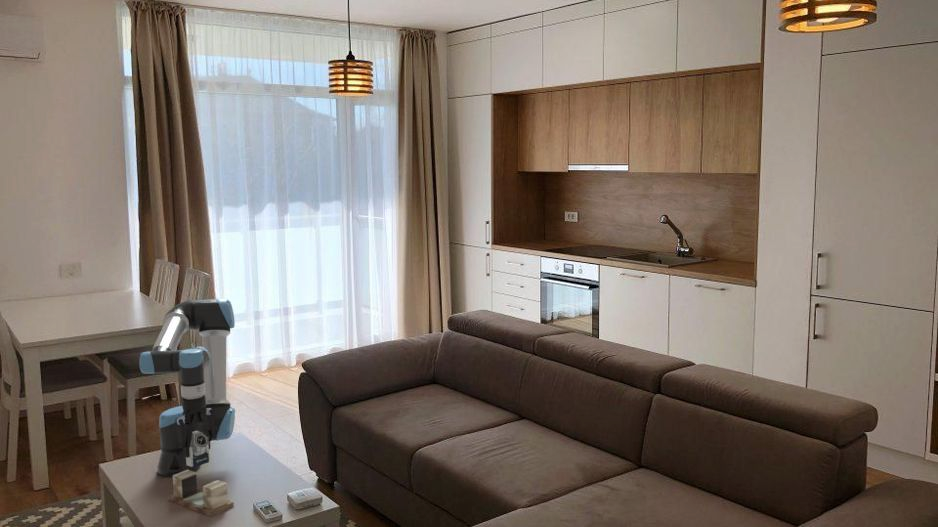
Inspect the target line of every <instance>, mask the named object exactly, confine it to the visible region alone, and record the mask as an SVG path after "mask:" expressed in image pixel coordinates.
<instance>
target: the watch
mask: <svg viewBox="0 0 938 527" xmlns="http://www.w3.org/2000/svg"><path fill="white" fill-rule="evenodd" d="M207 444H208V437H207V436H206V435H205V434H203V433H202V432H200V431H194V432H192V438H191V443H190V447H192V452H193V466H192V467H197V466H200V467H201V466H202V465H205V464H208V463H210V460H209V459H210V454H209V455H208V453H206V452H205V451H206V448H207Z"/></svg>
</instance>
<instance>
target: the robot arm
mask: <svg viewBox="0 0 938 527" xmlns="http://www.w3.org/2000/svg"><path fill="white" fill-rule="evenodd" d="M233 328H235V314H234V309H233V305H232V302H231V301H230V300H229V299H227V298H204V299H188V300H185V301H182V302H180V303H178V304H176V305H175V306H173V307H172V308H171V309H169V310H168V311H167V312H166V314H165V315H164V317H163V319H162V328H161V330H160V332H159V334H158V337H157V339H156V341H155V342H154V344H153V347H152V349H151V351H150V350H148V351H144V352H141V353H140V355H139V362H138V363H139V369H140V370H139V371H140V372H141V373H142V374H145V375H146V374H152V375H154V374H167V373H168V374H169V373H179V377H180V394H181V397H182V398H181V405H178V406H175V407H171V408H168V409H167V410H165V411H163V412H162V413H161V414H160V415H159V420H158V427H159V437H160V438H159V439H160V448H161V449H160V456H159V459H158V464H157V468H156V469H157V474H158V475H160V476H162V477H170V478H173V475H175V474H178V473H180V472H183V471H185V470H190V471H193V472H197V471H198V470H199V469H201V465H200V466H197V467H192V466H193V452H192V447H190V443H191V438H192V432H194V431H200V432H202V433H203V434H205V435H206V436H207V437H208V444H207V448H206V451H205V452H206V453H208V455H209V456H210V450H211V441H217V442H218V441H223V440H228V439H230V438H231V436H232V435H233V431H234V428H235V419H236V415H235V414H236V410H235V408H233V406H232V407H231V402H229V400H228V399H227V337H228V336H229V335H230V334H231V329H233ZM192 330H194V331H196V330H197V331H198V334H199V336H201V337H202V346H199V345H198V346H195V347H192V348H186V349H177V348H178V346H179V344H180V342H181V339H182V337H183V335H184V334H185V333H186V332H187V331H192ZM209 461H210V458H209Z"/></svg>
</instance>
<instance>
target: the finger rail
mask: <svg viewBox="0 0 938 527" xmlns="http://www.w3.org/2000/svg"><path fill="white" fill-rule="evenodd" d="M197 480H198V478H197V471H195V472H193V471H190V470H185V471H183V472H180V473H178V474H175V475H173V477H172V483H173V484H172V485H173V493H172V494H169V495H168V501H170V502H173V503H175V504H177V505H180V506H183V507H185V506H186V508H188V507H189V508H188V509H190V508H191V510H194V511H196V512H198V513H202V514H203V515H206V516H209V517H213V516H216V515H218V514H220V513H223V512H224V511H226V510H229V509H231V508H233V507H234V504H235V503H234V502H233V501H232V500H229V499H228V483H227V482H224V481H222V480H219V479H217V480H214V481H212V482H210V483H207V484H205V485H203V486H202V489H199V488H198V481H197Z"/></svg>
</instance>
